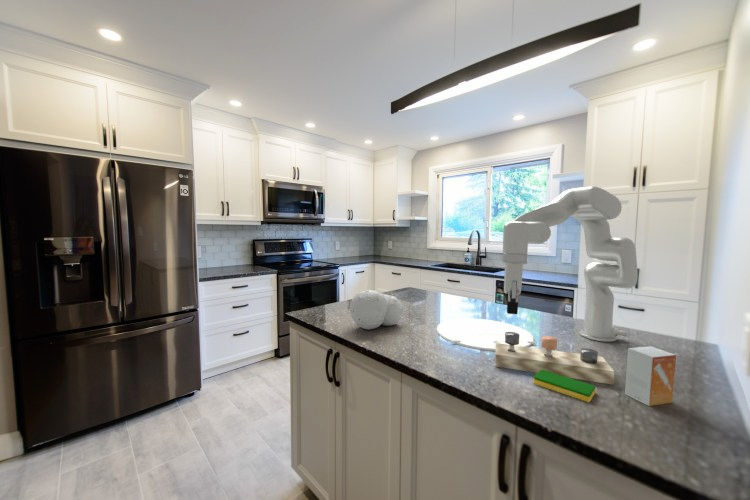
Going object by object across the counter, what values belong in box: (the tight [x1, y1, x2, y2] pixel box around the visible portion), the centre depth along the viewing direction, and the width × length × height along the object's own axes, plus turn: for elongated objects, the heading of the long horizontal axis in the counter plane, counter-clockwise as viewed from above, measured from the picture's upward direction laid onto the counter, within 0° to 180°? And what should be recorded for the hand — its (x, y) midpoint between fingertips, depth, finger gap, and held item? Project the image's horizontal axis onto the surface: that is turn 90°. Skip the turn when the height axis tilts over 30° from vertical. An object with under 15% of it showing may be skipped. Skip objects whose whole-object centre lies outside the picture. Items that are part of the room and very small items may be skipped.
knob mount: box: [494, 343, 615, 385], centre depth 100 cm, size 32×11×4 cm, turn 68°
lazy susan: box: [436, 318, 537, 352], centre depth 133 cm, size 40×39×3 cm
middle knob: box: [540, 335, 558, 357], centre depth 100 cm, size 4×4×7 cm
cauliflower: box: [349, 289, 404, 330], centre depth 143 cm, size 20×25×22 cm
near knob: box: [579, 347, 599, 363], centre depth 96 cm, size 4×4×7 cm
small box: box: [624, 345, 677, 407], centre depth 81 cm, size 8×6×13 cm
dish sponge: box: [532, 370, 596, 403], centre depth 87 cm, size 7×14×2 cm, turn 44°
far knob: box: [505, 332, 519, 352], centre depth 104 cm, size 4×4×7 cm
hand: (512, 313), depth 103 cm, fingers closed
